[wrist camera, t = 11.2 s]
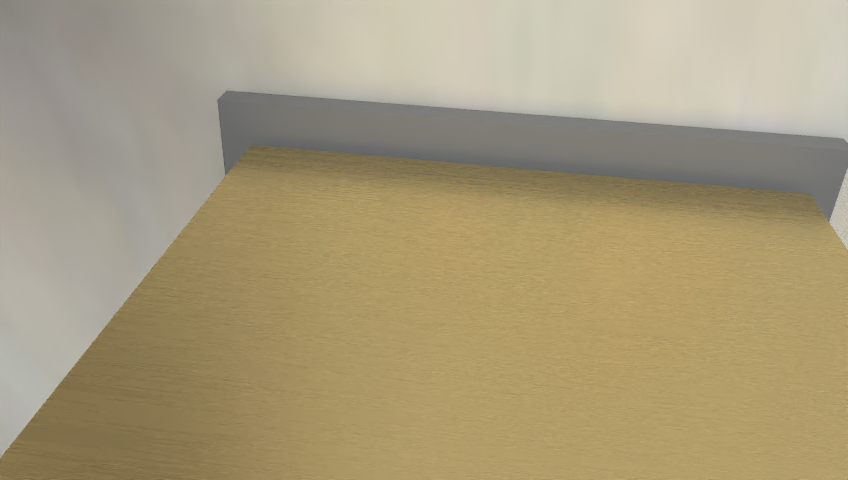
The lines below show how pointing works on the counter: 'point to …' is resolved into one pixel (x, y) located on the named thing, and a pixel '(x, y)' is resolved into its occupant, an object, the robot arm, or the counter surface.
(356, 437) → the collar
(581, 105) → the counter surface
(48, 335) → the counter surface
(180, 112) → the counter surface
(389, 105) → the mat
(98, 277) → the counter surface
